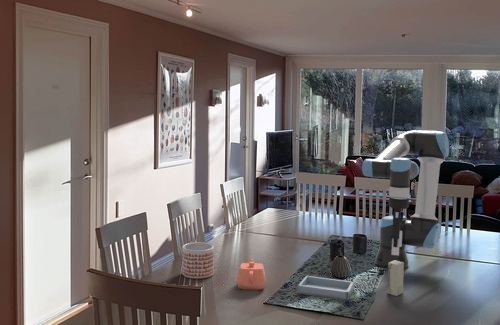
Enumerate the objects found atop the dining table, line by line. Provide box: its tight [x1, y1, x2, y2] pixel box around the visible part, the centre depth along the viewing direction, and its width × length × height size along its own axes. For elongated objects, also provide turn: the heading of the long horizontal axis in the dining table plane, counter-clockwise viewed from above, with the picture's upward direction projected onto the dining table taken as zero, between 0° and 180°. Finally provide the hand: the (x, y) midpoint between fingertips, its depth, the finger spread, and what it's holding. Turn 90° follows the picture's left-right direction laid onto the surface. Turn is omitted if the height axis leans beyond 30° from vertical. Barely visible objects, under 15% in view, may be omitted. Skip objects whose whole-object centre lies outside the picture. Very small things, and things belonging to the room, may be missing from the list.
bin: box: [297, 275, 355, 301], centre depth 205 cm, size 13×20×3 cm, turn 69°
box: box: [386, 260, 405, 297], centre depth 203 cm, size 5×4×13 cm
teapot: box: [237, 257, 266, 291], centre depth 210 cm, size 12×18×10 cm, turn 178°
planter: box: [181, 241, 215, 280], centre depth 224 cm, size 14×14×13 cm
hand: (396, 250), depth 202 cm, fingers open, 13 cm apart
